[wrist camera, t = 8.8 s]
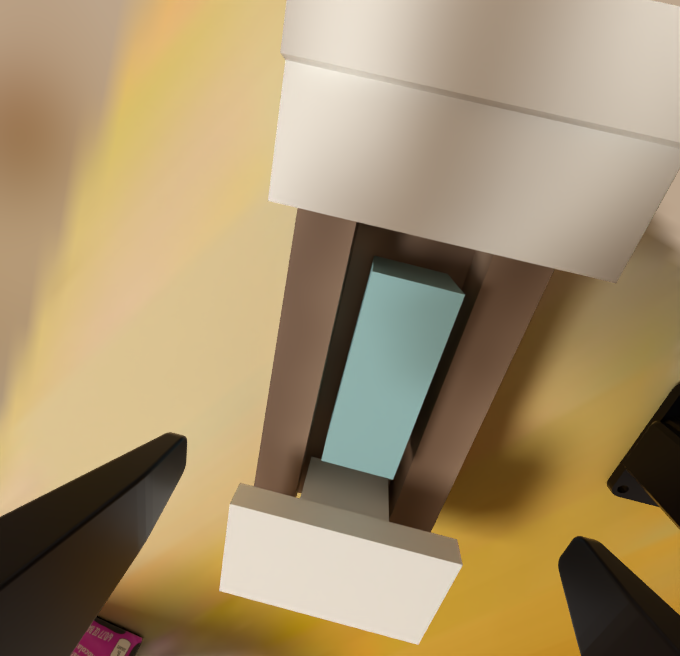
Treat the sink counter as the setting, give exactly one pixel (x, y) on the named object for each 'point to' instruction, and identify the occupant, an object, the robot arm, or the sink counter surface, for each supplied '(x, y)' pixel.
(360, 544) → the sliding cap
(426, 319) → the teal rectangular block
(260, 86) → the sink counter surface
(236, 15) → the sink counter surface
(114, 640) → the candy bar box
